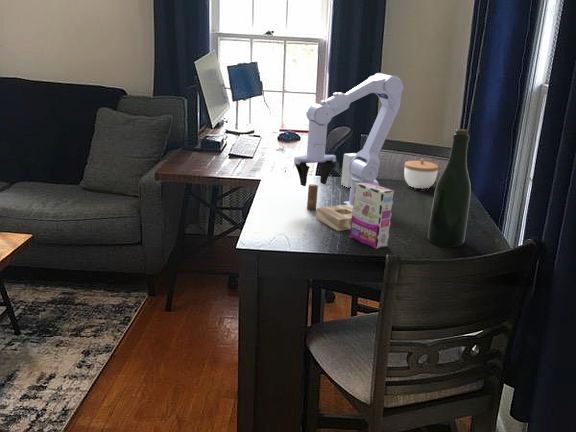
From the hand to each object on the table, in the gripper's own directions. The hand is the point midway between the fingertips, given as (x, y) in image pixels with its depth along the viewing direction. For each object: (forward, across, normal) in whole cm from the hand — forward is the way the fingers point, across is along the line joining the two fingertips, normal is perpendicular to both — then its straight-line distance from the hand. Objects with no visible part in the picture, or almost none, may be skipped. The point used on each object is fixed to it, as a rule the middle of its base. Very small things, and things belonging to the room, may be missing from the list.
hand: (313, 184), depth 205 cm
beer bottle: (+8, -21, +40) cm, 46 cm away
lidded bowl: (+8, -55, -10) cm, 57 cm away
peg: (+8, 0, 0) cm, 8 cm away
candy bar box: (+9, +1, +32) cm, 33 cm away
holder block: (+8, -2, +15) cm, 17 cm away
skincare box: (+8, -30, -20) cm, 37 cm away
